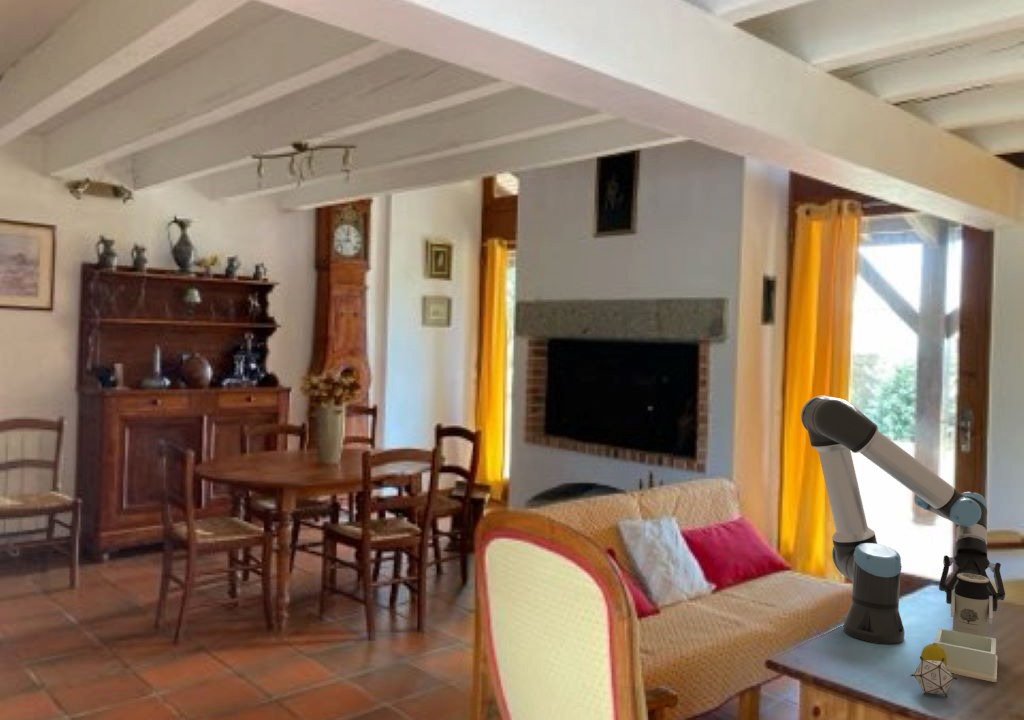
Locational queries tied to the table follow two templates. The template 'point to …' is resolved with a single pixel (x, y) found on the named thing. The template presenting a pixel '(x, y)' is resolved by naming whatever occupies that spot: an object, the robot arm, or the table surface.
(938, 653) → the lemon
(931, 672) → the game die
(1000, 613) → the table surface
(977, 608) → the travel mug
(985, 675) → the holder
